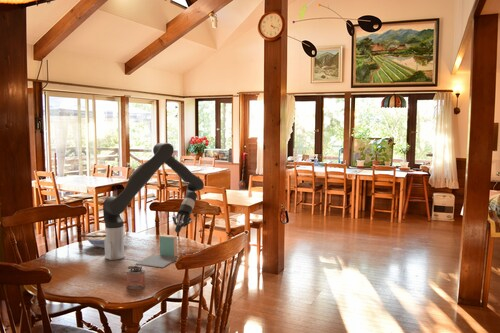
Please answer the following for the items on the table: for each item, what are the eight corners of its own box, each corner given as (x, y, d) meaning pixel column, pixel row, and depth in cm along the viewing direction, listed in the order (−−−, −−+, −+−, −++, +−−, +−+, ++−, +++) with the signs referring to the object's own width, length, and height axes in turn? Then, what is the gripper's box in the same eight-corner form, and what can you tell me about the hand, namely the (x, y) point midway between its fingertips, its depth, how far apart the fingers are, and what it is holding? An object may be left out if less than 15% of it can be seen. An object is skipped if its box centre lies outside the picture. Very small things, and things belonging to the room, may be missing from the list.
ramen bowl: (134, 241, 249) (134, 228, 248) (118, 253, 226) (118, 238, 226) (95, 240, 252) (95, 227, 251) (76, 251, 229) (75, 237, 228)
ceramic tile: (173, 257, 220) (173, 237, 219) (159, 255, 223) (159, 236, 222) (177, 255, 223) (176, 235, 222) (162, 253, 226) (162, 234, 225)
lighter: (145, 285, 181) (145, 264, 180) (144, 288, 177) (143, 266, 176) (127, 285, 180) (127, 264, 179) (125, 288, 177) (125, 266, 176)
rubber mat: (162, 268, 203) (162, 267, 203) (135, 264, 208) (135, 263, 208) (178, 258, 218) (178, 257, 218) (153, 255, 223) (153, 254, 223)
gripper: (174, 202, 241) (164, 227, 231) (194, 204, 237) (184, 229, 227) (179, 209, 247) (169, 234, 236) (198, 211, 242) (189, 236, 232)
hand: (177, 232), depth 231 cm, fingers closed
